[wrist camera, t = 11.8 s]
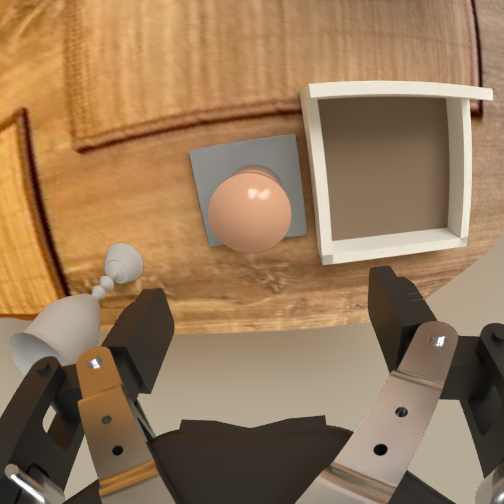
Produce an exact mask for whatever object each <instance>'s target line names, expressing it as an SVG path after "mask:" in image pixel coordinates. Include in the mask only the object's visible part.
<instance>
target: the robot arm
mask: <svg viewBox="0 0 504 504" xmlns="http://www.w3.org/2000/svg"><path fill="white" fill-rule="evenodd" d="M368 312H369V317H370V320H371V323H372V325H373V328H374V331H375V333H376V336H377V339H378V341H379V344H380V347H381V350H382V352H383V355H384V358H385V361H386V364H387V367H388V370H389V373H390V375H389V377H388V378H387V380H386V382H385V384H384V385H383V387H382V389H381V390H380V392H379V394H378V396H377V397H376V399H375V400H374V402H373V404H372V405H371V407H370V409H369V410H368V412H367V413H366V415H365V416H364V418H363V420H362V421H361V423H360V424H359V426H358V427H357V429H356V430H355V432H353V431H350V430H348V429H344V428H341V427H336V426H329V425H326V419H325V415H323V416H313V417H302V418H291V419H285V420H282V421H278V422H274V423H270V424H266V425H263V426H259V427H254V428H246V427H241V426H236V425H231V424H227V423H222V422H218V421H205V420H182V421H181V424H180V428H179V430H174V431H170V432H167V433H164V434H162V435H159V436H157V437H156V435H155V433H154V432H153V430H152V428H151V426H150V424H149V422H148V420H147V418H146V415H145V414H144V411H143V409H142V407H141V405H140V403H139V401H138V400H137V397H138V394H139V393H145V394H151V391H152V389H153V386H154V384H155V381H156V378H157V376H158V373H159V370H160V368H161V365H162V363H163V360H164V357H165V355H166V352H167V350H168V347H169V345H170V342H171V340H172V337H173V334H174V320H173V317H172V314H171V311H170V308H169V305H168V302H167V299H166V296H165V293H164V291H163V290H162V289H161V288H155V289H143V290H142V291H141V293H140V294H139V296H138V298H137V299H136V301H135V302H132V303H131V304H130V305H129V306H127V307H126V308H125V309H124V310H123V312H122V313H121V315H120V316H119V319H117V321H116V323H115V324H114V325H115V326H113V327H112V329H111V330H110V332H109V334H108V335H107V337H106V339H105V340H104V342H103V343H102V345H101V347H94V348H91V349H89V350H87V351H85V352H84V353H83V354H82V355H81V356H80V357H79V358H78V360H77V363H76V364H72V365H67V366H61V364H60V362H59V361H58V359H57V358H56V357H54V356H47V357H43V358H41V359H39V360H38V361H37V362H35V363H34V364H33V365H32V367H31V368H30V370H29V371H28V373H27V375H26V376H25V378H24V379H23V381H22V383H21V384H20V386H19V387H18V389H17V391H16V392H15V394H14V395H13V397H12V399H11V401H10V402H9V404H8V406H7V407H6V409H5V411H4V413H3V414H2V416H1V418H0V504H455V503H454V502H452V501H451V500H449V499H448V498H446V497H445V496H443V495H442V494H440V493H439V492H438V491H436V490H435V489H433V488H432V487H430V486H429V485H428V484H426V483H425V482H423V481H422V480H420V479H419V478H418V477H416V476H415V475H413V474H412V473H411V472H409V471H408V470H407V468H408V466H409V464H410V462H411V460H412V459H413V457H414V455H415V452H416V450H417V448H418V446H419V444H420V442H421V440H422V438H423V436H424V433H425V431H426V429H427V427H428V425H429V422H430V420H431V417H432V415H433V413H434V410H435V408H436V405H437V403H438V400H439V399H449V400H451V399H452V400H460V403H461V406H462V408H463V412H464V414H465V417H466V420H467V423H468V426H469V429H470V432H471V435H472V438H473V441H474V444H475V448H476V451H477V454H478V457H479V461H480V465H481V468H482V472H483V476H484V480H483V481H482V482H481V484H480V485H479V487H478V489H477V491H476V496H475V503H476V504H504V325H503V324H500V323H492V324H488V325H486V326H485V327H484V328H483V329H482V331H481V334H480V337H475V336H459V335H458V334H457V332H456V330H455V329H454V328H453V327H452V326H450V325H449V324H447V323H444V322H440V321H437V319H436V318H435V316H434V314H433V313H432V311H431V310H430V308H429V306H428V305H427V303H426V302H425V300H423V297H422V296H421V294H420V293H419V291H418V289H417V288H416V286H415V285H414V283H412V282H411V281H409V280H408V279H406V278H405V277H398V278H397V276H396V274H395V273H394V271H393V270H392V268H391V267H390V266H381V267H373V268H370V271H369V290H368ZM50 405H51V406H52V407H53V409H54V410H55V411H56V412H57V413H56V415H55V417H54V419H53V421H52V423H51V425H50V428H49V430H48V432H47V433H46V432H45V430H44V428H43V424H42V423H43V418H44V416H45V414H46V412H47V410H48V408H49V406H50ZM84 435H85V436H86V440H87V443H88V447H89V451H90V454H91V457H92V461H93V464H94V467H95V470H96V473H97V476H98V479H97V480H96V481H94V482H93V483H92V484H90V485H89V486H87V487H86V488H84V489H83V490H81V491H80V492H78V493H77V494H76V495H74V496H72V497H71V498H70V499H68V500H66V501H65V495H64V490H65V487H66V484H67V480H68V478H69V475H70V472H71V469H72V466H73V464H74V461H75V458H76V456H77V453H78V450H79V448H80V445H81V442H82V440H83V437H84Z"/></svg>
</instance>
